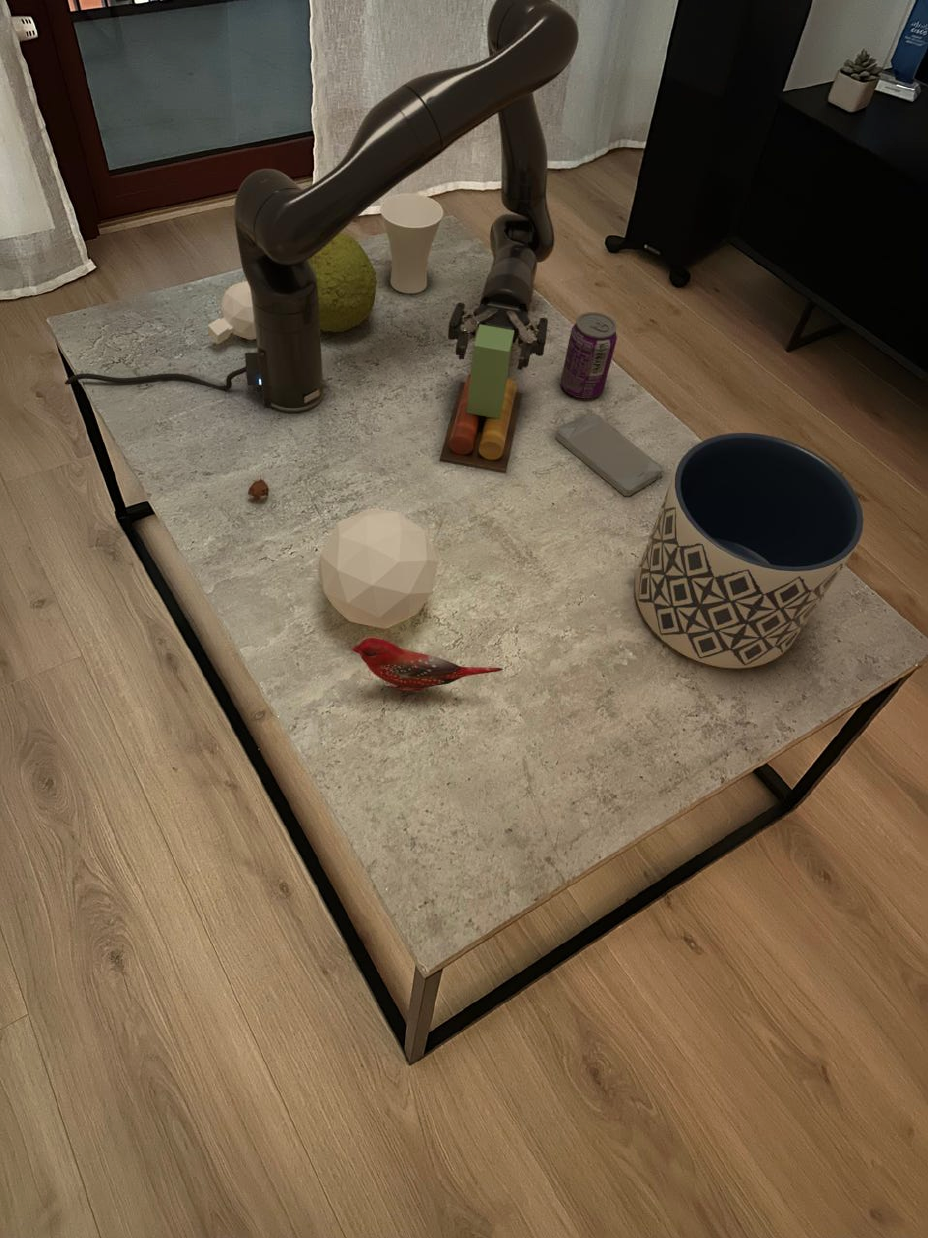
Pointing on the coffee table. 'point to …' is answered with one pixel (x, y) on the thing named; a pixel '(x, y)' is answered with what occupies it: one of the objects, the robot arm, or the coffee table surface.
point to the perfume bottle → (235, 315)
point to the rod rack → (481, 432)
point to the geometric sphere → (377, 568)
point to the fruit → (343, 283)
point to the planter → (745, 548)
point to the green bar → (489, 371)
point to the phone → (609, 453)
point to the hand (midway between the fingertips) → (491, 359)
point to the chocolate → (258, 489)
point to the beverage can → (589, 355)
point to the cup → (410, 238)
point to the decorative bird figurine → (411, 666)
